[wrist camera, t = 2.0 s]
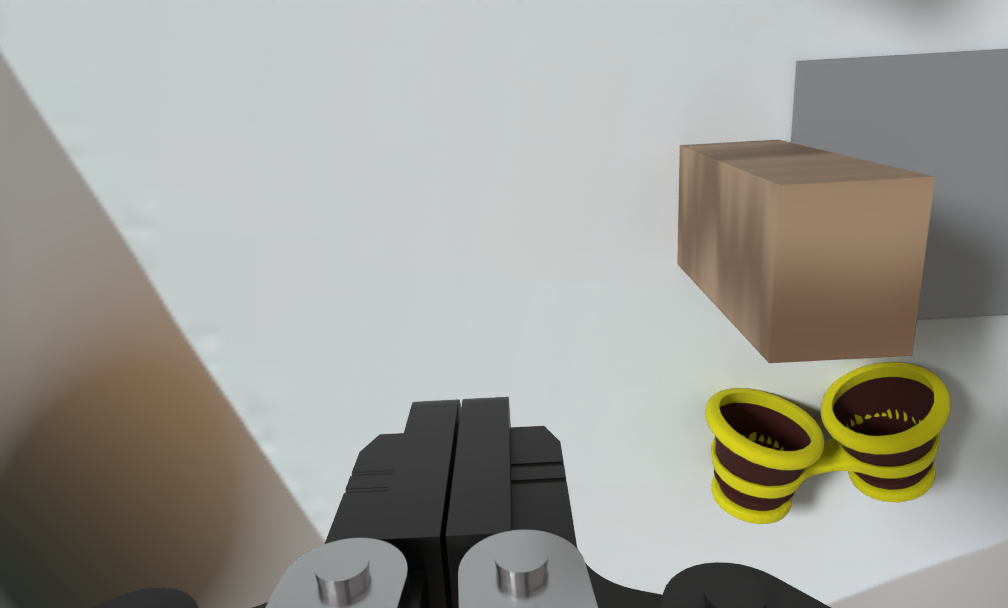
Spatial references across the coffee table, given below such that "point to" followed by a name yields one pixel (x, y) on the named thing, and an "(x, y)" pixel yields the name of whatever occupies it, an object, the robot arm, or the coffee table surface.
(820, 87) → the mat
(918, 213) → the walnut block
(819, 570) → the coffee table surface
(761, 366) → the coffee table surface
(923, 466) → the opera glasses
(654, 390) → the coffee table surface
